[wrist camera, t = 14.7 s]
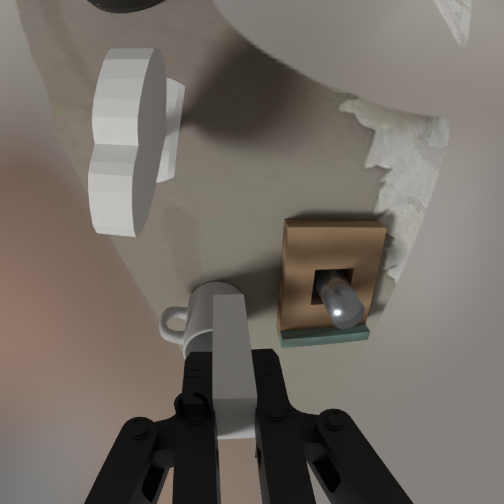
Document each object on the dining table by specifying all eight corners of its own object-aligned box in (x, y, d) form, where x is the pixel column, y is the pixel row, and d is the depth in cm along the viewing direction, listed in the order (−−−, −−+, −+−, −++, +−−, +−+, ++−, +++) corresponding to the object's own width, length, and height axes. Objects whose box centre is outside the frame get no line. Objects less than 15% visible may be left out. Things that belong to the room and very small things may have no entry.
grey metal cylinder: (313, 263, 46) (335, 301, 37) (341, 262, 46) (367, 298, 37) (310, 289, 47) (329, 330, 38) (337, 287, 48) (360, 327, 39)
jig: (284, 219, 42) (292, 233, 38) (377, 220, 44) (393, 233, 39) (276, 327, 50) (281, 347, 45) (357, 321, 51) (367, 339, 47)
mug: (250, 285, 46) (259, 333, 36) (238, 330, 50) (243, 381, 40) (168, 271, 44) (156, 318, 34) (163, 319, 47) (153, 369, 38)
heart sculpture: (148, 69, 32) (93, 41, 16) (188, 71, 33) (160, 39, 17) (135, 188, 39) (81, 244, 22) (172, 191, 39) (140, 250, 23)
